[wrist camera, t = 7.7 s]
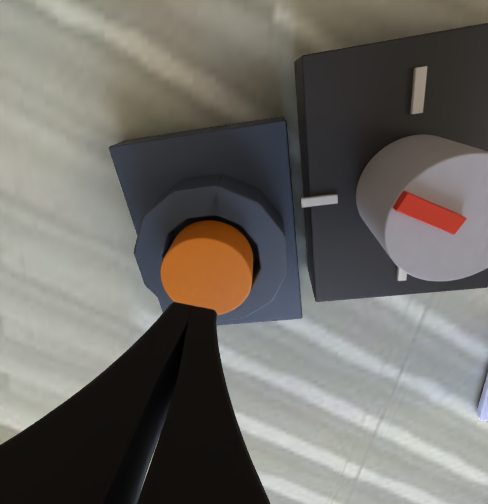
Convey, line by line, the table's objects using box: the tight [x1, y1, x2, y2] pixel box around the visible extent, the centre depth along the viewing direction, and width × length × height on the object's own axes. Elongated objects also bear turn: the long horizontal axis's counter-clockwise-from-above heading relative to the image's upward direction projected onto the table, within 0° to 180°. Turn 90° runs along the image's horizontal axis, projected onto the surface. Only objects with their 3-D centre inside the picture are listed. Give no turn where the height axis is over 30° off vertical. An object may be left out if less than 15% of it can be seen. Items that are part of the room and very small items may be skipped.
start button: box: [160, 220, 253, 315], centre depth 13 cm, size 4×4×2 cm
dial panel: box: [294, 23, 488, 302], centre depth 14 cm, size 10×8×3 cm
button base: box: [109, 116, 302, 325], centre depth 15 cm, size 10×8×4 cm
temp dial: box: [356, 134, 488, 281], centre depth 11 cm, size 4×4×4 cm
